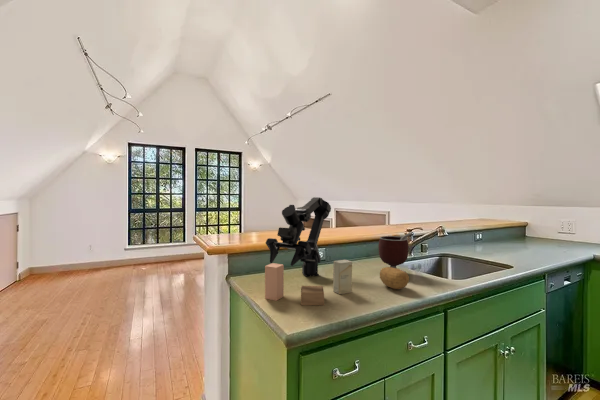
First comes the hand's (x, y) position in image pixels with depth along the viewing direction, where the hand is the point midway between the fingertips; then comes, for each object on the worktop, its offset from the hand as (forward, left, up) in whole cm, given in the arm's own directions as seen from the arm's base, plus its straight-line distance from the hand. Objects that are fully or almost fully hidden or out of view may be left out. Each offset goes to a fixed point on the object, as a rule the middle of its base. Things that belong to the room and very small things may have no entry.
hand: (280, 264), depth 110 cm
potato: (-46, +8, -12) cm, 48 cm away
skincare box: (-24, +6, -12) cm, 27 cm away
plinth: (-9, +11, -11) cm, 18 cm away
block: (+3, +3, -11) cm, 12 cm away
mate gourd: (-60, -10, -12) cm, 62 cm away
